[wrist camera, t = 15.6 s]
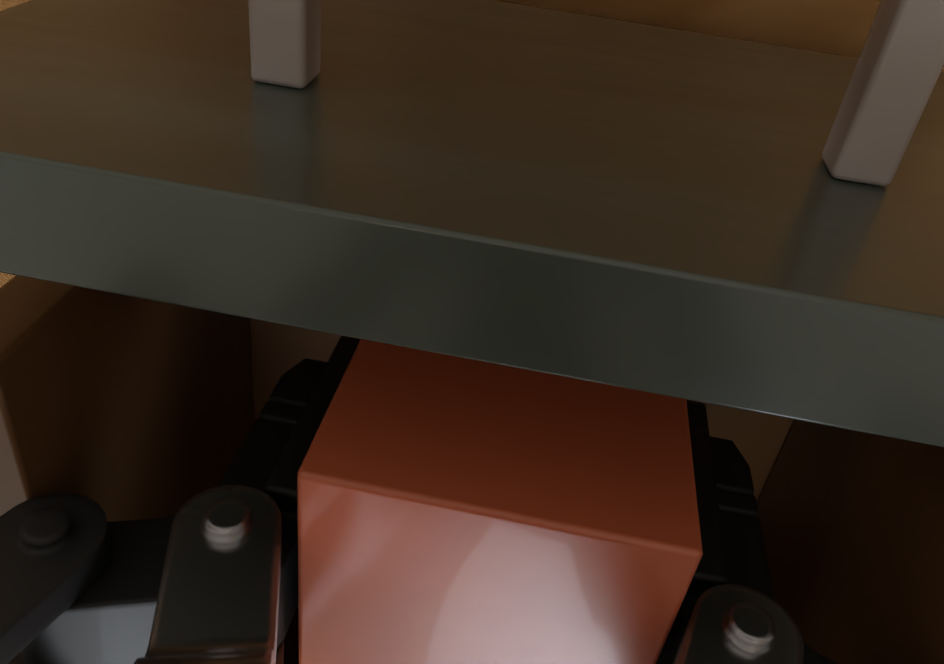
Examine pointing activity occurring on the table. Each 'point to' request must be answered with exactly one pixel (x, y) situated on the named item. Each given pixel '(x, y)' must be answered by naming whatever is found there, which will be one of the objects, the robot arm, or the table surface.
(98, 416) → the drawer
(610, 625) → the block
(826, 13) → the table surface
